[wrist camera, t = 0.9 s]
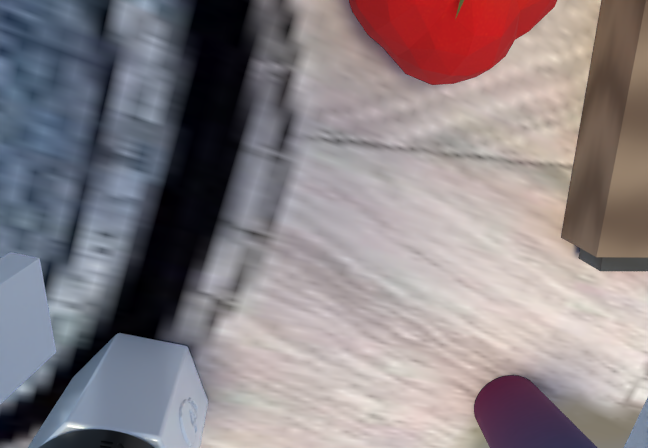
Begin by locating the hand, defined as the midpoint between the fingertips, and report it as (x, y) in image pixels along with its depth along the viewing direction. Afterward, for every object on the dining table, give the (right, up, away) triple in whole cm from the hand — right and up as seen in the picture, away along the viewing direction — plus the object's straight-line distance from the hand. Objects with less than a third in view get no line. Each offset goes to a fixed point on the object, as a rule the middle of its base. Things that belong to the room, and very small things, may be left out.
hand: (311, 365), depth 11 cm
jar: (-12, -8, +24) cm, 28 cm away
